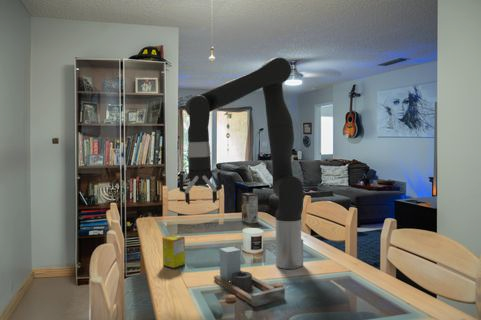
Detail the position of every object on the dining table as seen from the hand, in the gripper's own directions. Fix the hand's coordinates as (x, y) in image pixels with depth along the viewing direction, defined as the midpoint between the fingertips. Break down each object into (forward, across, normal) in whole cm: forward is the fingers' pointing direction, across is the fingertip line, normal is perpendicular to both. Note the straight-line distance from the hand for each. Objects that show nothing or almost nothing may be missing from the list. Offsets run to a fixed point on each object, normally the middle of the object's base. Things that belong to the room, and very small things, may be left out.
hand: (201, 203), depth 134 cm
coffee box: (+26, -30, -88) cm, 97 cm away
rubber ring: (+25, -11, +12) cm, 30 cm away
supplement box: (+25, +11, -12) cm, 30 cm away
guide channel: (+25, -12, +14) cm, 31 cm away
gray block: (+25, -8, +5) cm, 27 cm away
